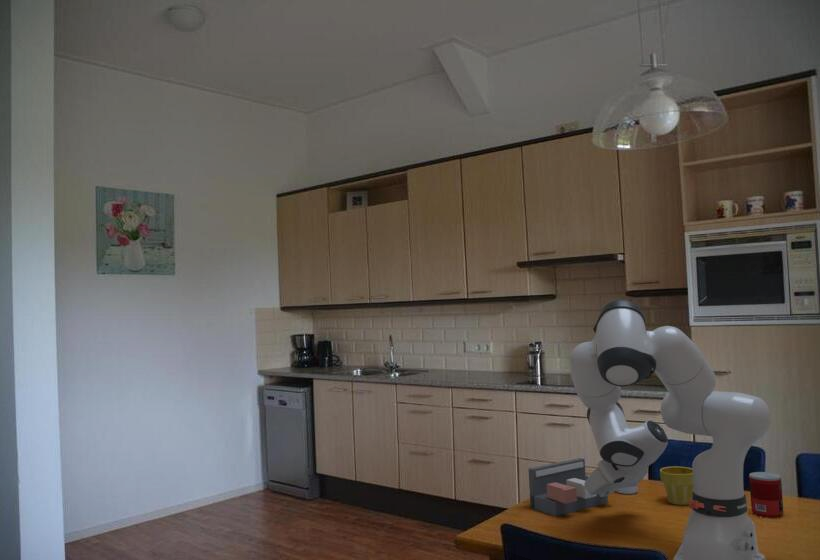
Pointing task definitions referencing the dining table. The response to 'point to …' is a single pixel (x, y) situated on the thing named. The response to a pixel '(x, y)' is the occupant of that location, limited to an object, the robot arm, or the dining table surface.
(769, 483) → the canned food
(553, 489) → the terracotta key
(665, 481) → the plant pot
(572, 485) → the ivory key
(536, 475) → the console
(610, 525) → the dining table surface
